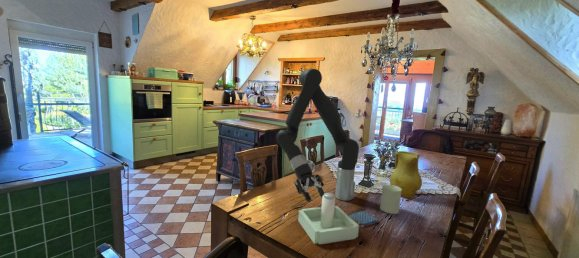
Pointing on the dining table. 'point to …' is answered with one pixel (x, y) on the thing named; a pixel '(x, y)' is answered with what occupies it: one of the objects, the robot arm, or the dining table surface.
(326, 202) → the salt shaker
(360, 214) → the woven mat
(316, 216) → the sage bin
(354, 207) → the dining table surface
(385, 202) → the can
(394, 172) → the pitcher
